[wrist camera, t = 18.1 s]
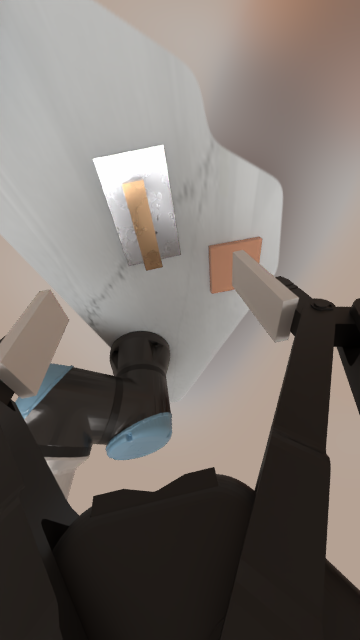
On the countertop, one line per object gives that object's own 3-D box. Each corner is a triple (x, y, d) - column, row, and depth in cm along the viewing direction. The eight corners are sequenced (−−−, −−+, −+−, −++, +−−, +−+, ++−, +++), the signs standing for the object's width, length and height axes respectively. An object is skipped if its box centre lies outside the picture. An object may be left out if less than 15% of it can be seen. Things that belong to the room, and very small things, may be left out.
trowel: (180, 253, 40) (191, 278, 31) (128, 264, 39) (126, 293, 31) (162, 144, 29) (172, 139, 21) (93, 158, 29) (75, 159, 21)
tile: (258, 236, 40) (252, 281, 46) (208, 245, 40) (209, 289, 46) (262, 238, 39) (256, 285, 45) (210, 248, 38) (211, 293, 45)
